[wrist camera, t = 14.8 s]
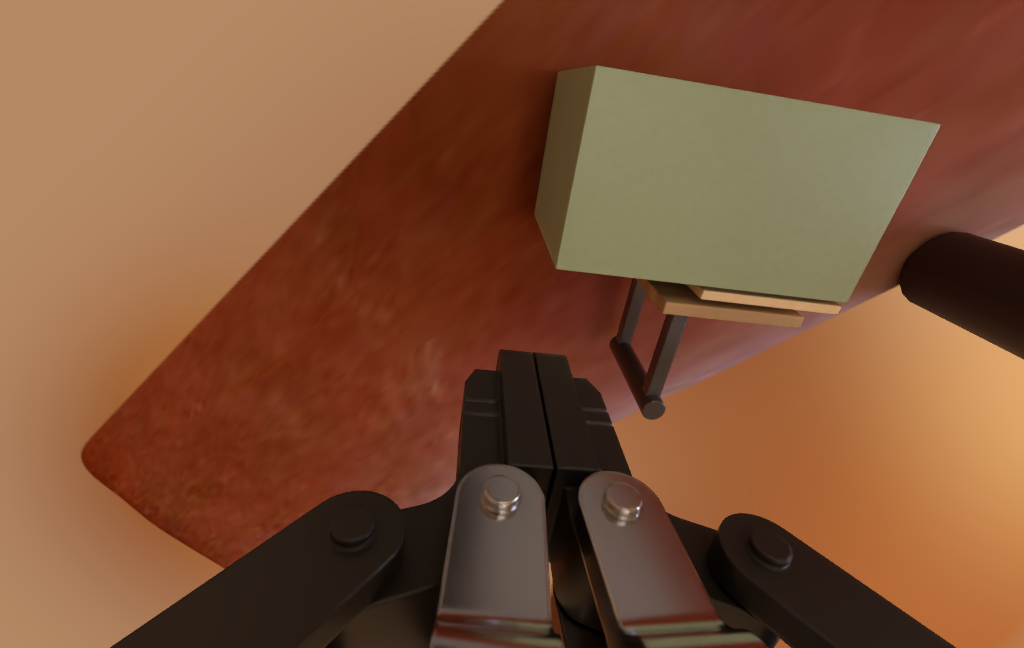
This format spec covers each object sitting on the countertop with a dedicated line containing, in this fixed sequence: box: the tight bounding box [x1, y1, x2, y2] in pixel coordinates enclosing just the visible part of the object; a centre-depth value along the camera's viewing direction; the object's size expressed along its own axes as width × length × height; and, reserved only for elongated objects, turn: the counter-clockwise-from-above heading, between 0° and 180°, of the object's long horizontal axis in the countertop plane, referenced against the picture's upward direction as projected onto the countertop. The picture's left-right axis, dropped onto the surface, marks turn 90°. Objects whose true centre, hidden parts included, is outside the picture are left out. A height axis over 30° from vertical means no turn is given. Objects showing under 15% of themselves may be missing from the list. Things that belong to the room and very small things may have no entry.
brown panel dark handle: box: [610, 278, 804, 420], centre depth 34 cm, size 9×9×12 cm
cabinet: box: [534, 65, 940, 314], centre depth 30 cm, size 11×18×12 cm, turn 82°
